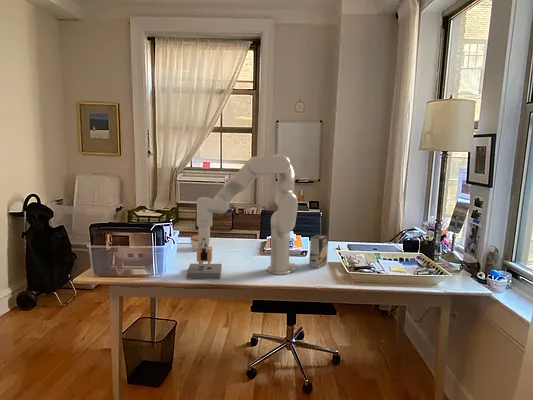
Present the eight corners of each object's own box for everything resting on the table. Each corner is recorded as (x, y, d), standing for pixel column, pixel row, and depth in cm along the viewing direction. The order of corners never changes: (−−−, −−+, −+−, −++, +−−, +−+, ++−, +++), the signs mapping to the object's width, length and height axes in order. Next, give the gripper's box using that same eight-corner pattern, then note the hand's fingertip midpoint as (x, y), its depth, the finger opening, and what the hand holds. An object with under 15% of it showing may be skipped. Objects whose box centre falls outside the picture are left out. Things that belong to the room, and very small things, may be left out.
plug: (212, 261, 199) (212, 246, 197) (211, 265, 193) (211, 249, 192) (198, 261, 198) (198, 246, 197) (196, 265, 192) (196, 249, 191)
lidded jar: (187, 251, 233) (187, 235, 232) (194, 246, 244) (194, 231, 242) (204, 252, 231) (204, 237, 230) (211, 247, 241) (211, 233, 240)
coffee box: (319, 268, 208) (320, 239, 206) (308, 266, 212) (310, 237, 209) (327, 264, 216) (328, 236, 213) (316, 262, 220) (318, 234, 217)
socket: (221, 269, 204) (221, 263, 203) (220, 279, 190) (220, 273, 190) (190, 269, 203) (190, 263, 202) (186, 278, 189) (186, 273, 189)
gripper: (198, 218, 200) (198, 252, 203) (194, 226, 183) (194, 263, 186) (213, 219, 201) (213, 253, 204) (211, 226, 184) (210, 263, 187)
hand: (204, 257), depth 195 cm, fingers closed on plug, 6 cm apart
